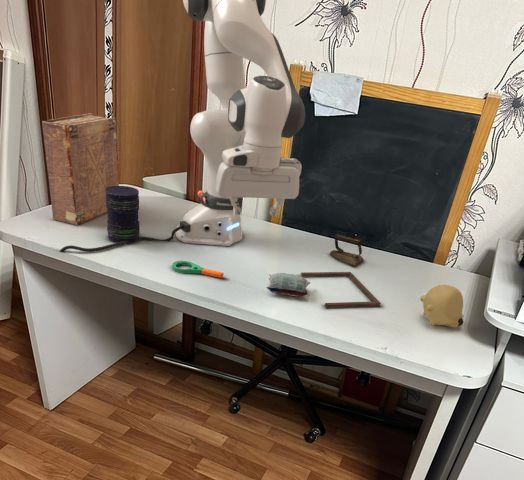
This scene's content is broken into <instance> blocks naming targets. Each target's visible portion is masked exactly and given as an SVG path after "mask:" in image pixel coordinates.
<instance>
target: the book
mask: <svg viewBox="0 0 524 480" xmlns="http://www.w3.org/2000/svg"><path fill="white" fill-rule="evenodd" d="M41 123H42V124H41V125H42V134H43V142H44V152H45V160H46V169H47V176H48V185H49V194H50V205H51V211H52V212H51V213H52V220H55V221H58V222H63V223H68V224H71V225H74V226H79V225H81V224H84V223H86V222H88V221H90V220H92V219H95V218H97V217H100V216H102V215H104V214H106V213H107V208H106V191H105V189H106V188H108V187H111V186H120V180H119V178H120V177H119V176H120V175H119V157H118V156H119V155H118V154H119V153H118V151H119V150H118V133H117V118H116V117H103V116H98V115H94V113H93V112H90V113H83V114H77V115H71V116H64V117H59V118H58V117H57V118H53V119H46V120H42V121H41Z"/></svg>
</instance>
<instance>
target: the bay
mask: <svg viewBox="0 0 524 480" xmlns="http://www.w3.org/2000/svg"><path fill="white" fill-rule="evenodd" d="M300 276H302V277H303V278H333V277H334V278H338V277H339V278H342V277H348V278H349V279H350V280H351V282H352V283H354V284H355V286H356V287H357V288H358V289H359V290H360V291H361V292H362V293H363V295H365V296H366V298H368V299H369V300H370V301H345V302H341V301H340V302H325V303H324V308H325V309H345V308H347V309H348V308H371V307H373V308H374V307H381V305H382V303H381V302H380V300H378V298H377V297H376V296H374V295H373V293H372V292H371V291H370V290H369V289H368V288H367V287H366V286H365V285H364V284H363V283H362V282H361V280H359V279H358V278H357V277H356V276H355V275H354V274H353V273H352V272H351V271H314V272H313V271H312V272H311V271H309V272H307V271H305V272H304V271H303V272H302V271H301V272H300Z"/></svg>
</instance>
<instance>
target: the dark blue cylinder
mask: <svg viewBox="0 0 524 480" xmlns="http://www.w3.org/2000/svg"><path fill="white" fill-rule="evenodd" d="M105 191H106V208H107V212H106V213H107V221H106V230H107V234H108V235H107V239H108V240H109V241H110V242H112V243H113V244H114V243H118V242H122V241H125V240H128V241H129V242H128V243H126V244H125V245H130V244H135V243H137V242H139V241H140V240H137V238H138V237H141V236H140V234H141V233H140V232H141V228H140V226H141V225H140V220H139V211H140V194H139V193H140V192H139V189H137V188H135V187H133V186H128V185H127V186H126V185H119V186H111V187H108V188H106V189H105Z"/></svg>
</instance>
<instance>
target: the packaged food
mask: <svg viewBox="0 0 524 480" xmlns="http://www.w3.org/2000/svg"><path fill="white" fill-rule="evenodd" d="M268 276H269V277H268V281H269V285H267V286H266V287H265V288H266V289H267V290H268V291H270V292H271V293H272V294H277V295H284V296H290V297H306V296H308V297H310V294H309V291H308V290H307V287H308V286H309V285H310V284H311V281H309V280H308V279H306V277H302V276H301V275H298V274H293V273H287V272H277V273H273V274H270V273H269V274H268Z"/></svg>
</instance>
